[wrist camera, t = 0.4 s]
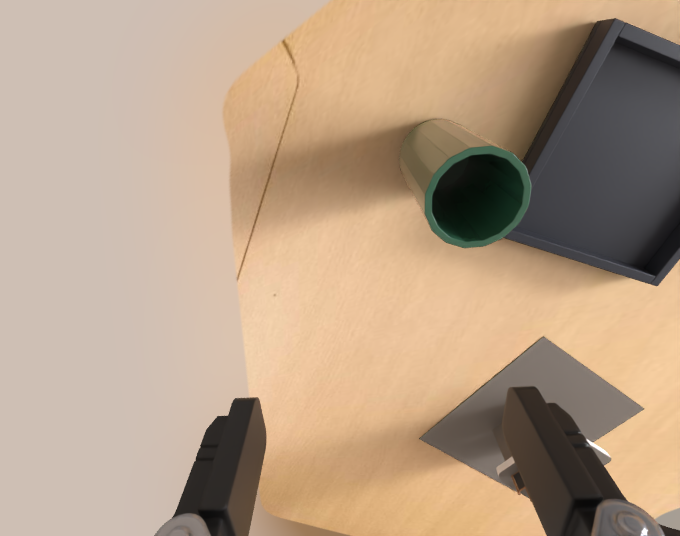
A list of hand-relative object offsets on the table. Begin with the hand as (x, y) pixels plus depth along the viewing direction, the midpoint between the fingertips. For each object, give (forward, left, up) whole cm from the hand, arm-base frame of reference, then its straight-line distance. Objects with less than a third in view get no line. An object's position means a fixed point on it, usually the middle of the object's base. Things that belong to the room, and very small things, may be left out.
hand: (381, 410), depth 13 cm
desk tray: (+14, +16, -22) cm, 31 cm away
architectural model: (+32, -7, -22) cm, 40 cm away
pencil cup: (+2, +7, -22) cm, 23 cm away
